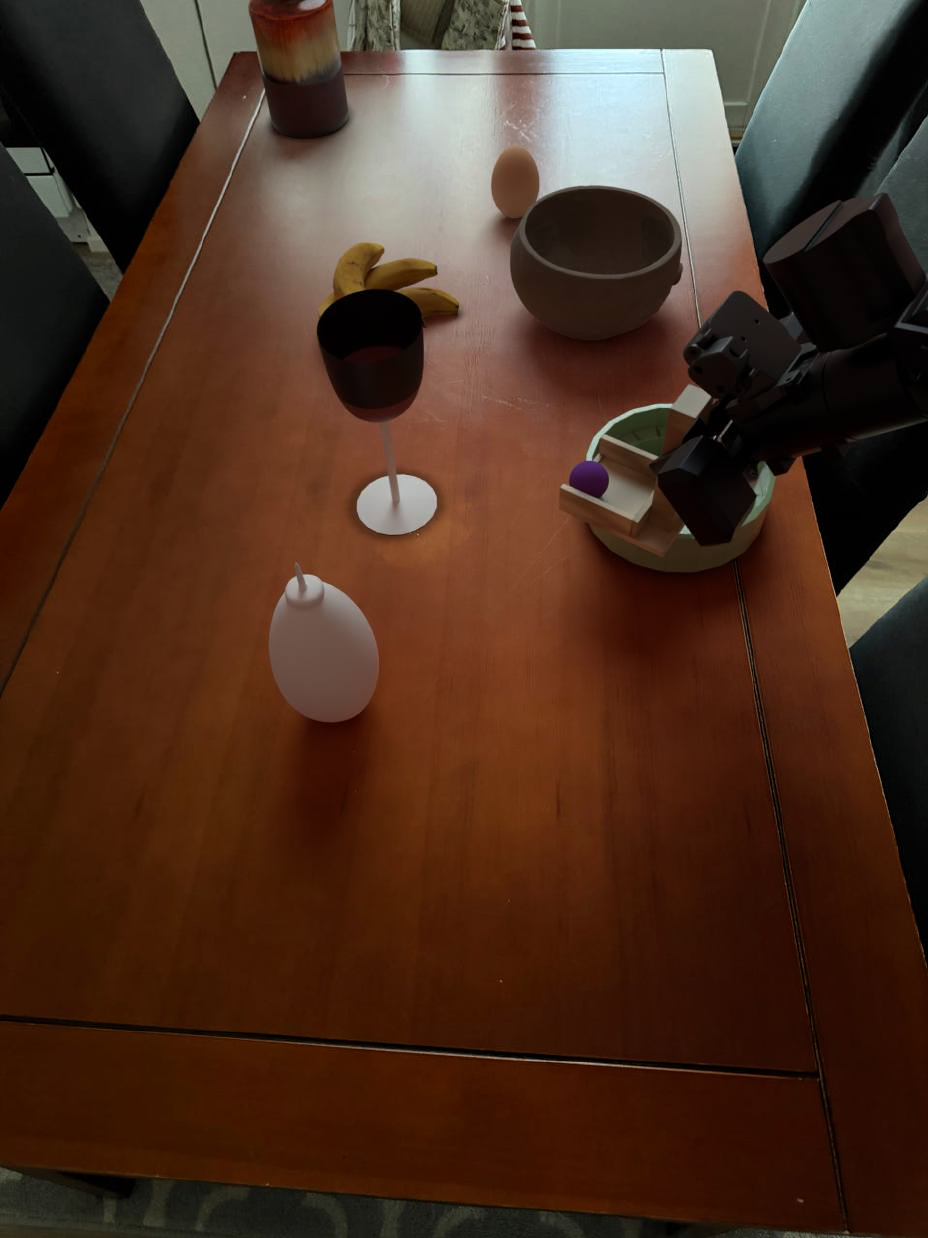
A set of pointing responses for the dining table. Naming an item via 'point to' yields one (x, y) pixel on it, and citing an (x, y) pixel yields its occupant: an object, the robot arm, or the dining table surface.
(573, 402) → the dining table surface
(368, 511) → the wineglass
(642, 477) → the scoop
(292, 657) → the sauce bottle
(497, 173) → the egg
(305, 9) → the vase
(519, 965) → the dining table surface
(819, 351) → the robot arm
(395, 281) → the banana
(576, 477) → the ball
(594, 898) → the dining table surface
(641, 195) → the bowl
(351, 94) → the dining table surface
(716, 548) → the green bowl
